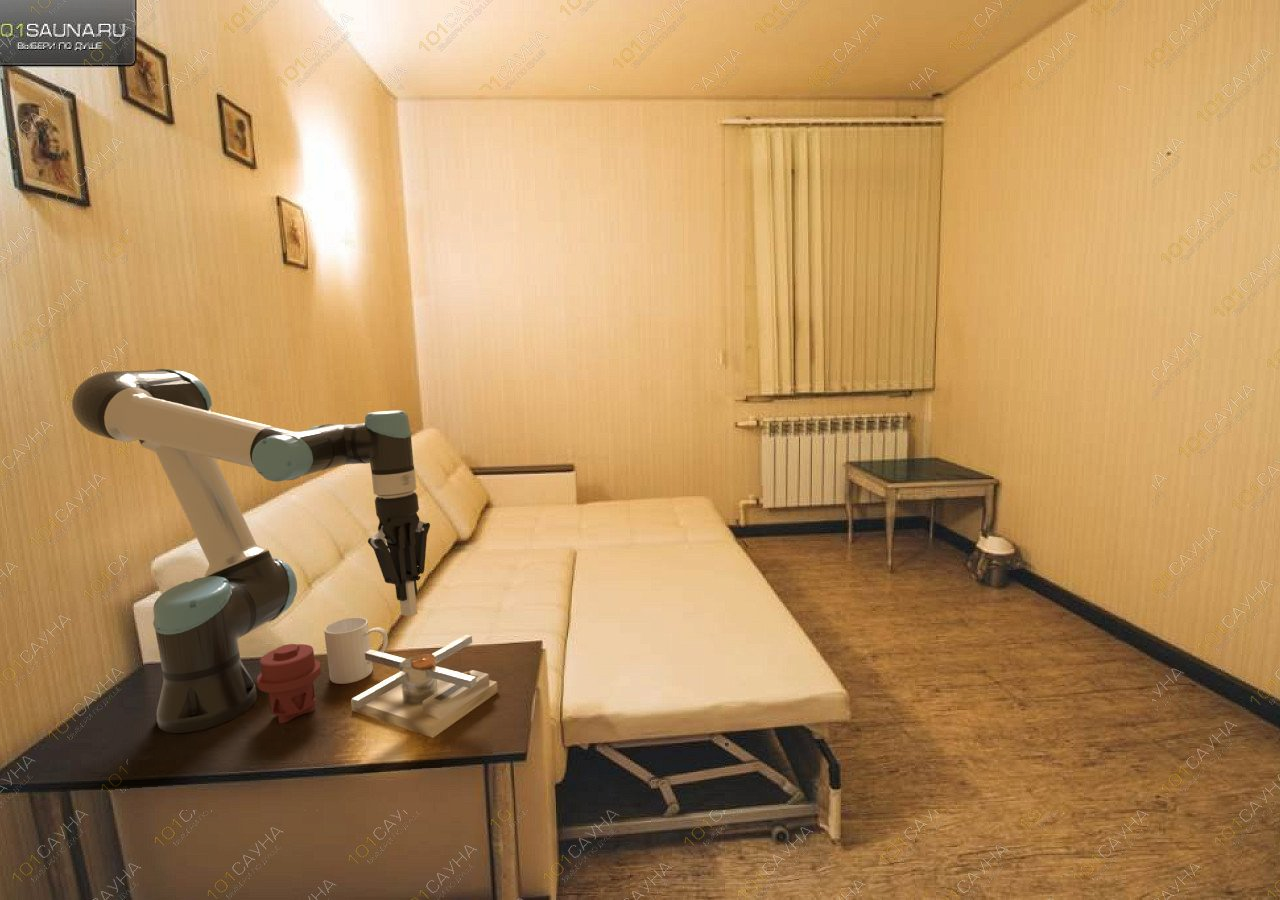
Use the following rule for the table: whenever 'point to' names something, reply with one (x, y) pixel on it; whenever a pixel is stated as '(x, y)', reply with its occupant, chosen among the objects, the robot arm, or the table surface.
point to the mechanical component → (289, 680)
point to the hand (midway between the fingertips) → (409, 614)
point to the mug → (350, 649)
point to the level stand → (431, 705)
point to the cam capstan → (416, 674)
